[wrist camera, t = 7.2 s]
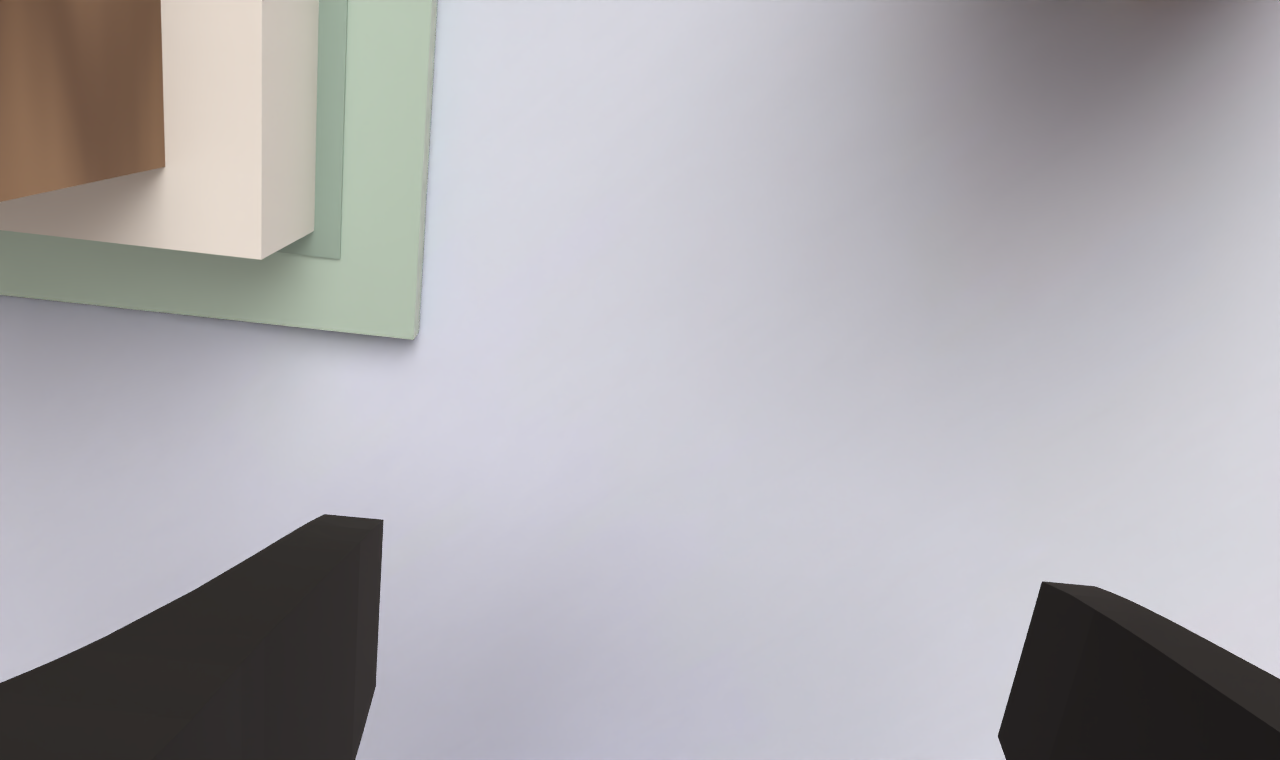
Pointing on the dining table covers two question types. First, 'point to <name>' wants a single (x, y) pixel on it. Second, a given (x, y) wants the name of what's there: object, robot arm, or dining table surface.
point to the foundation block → (211, 140)
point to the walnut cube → (78, 92)
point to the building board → (344, 205)
